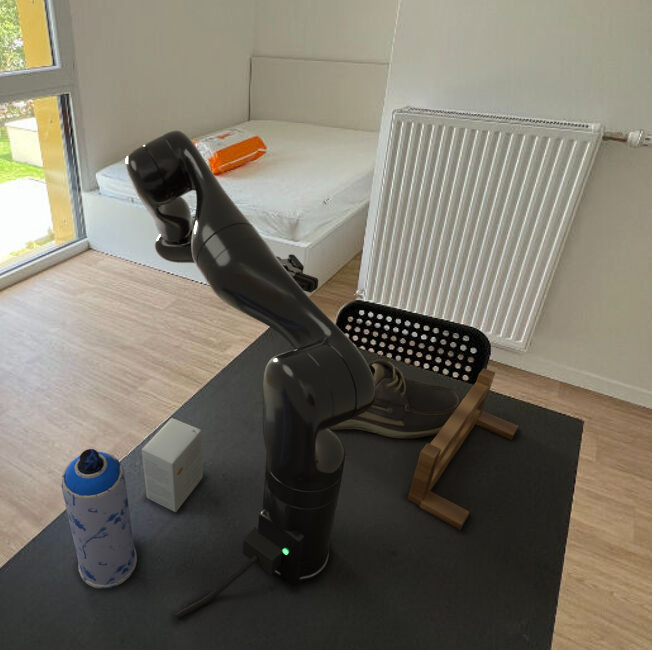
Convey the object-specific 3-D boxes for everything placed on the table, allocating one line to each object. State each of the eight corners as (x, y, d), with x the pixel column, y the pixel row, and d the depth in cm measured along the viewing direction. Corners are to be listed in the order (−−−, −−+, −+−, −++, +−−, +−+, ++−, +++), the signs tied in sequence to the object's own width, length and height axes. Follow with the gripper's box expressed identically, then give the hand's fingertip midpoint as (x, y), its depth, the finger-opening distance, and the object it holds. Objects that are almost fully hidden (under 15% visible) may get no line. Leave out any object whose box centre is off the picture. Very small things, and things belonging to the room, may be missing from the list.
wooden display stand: (460, 530, 76) (478, 481, 71) (406, 500, 81) (419, 452, 75) (516, 431, 93) (534, 386, 88) (469, 411, 98) (484, 367, 92)
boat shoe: (468, 441, 91) (485, 392, 85) (297, 440, 92) (302, 391, 86) (445, 400, 100) (459, 353, 95) (290, 399, 101) (294, 352, 95)
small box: (174, 464, 87) (171, 416, 82) (203, 478, 85) (202, 428, 79) (145, 498, 81) (139, 448, 76) (175, 514, 79) (172, 463, 73)
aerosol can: (94, 531, 76) (74, 426, 66) (145, 543, 75) (133, 438, 64) (67, 580, 70) (41, 473, 59) (123, 595, 68) (105, 488, 58)
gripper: (215, 251, 96) (295, 280, 87) (259, 230, 105) (337, 254, 95) (215, 288, 100) (292, 319, 91) (258, 265, 109) (332, 291, 99)
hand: (315, 285), depth 93 cm, fingers closed
